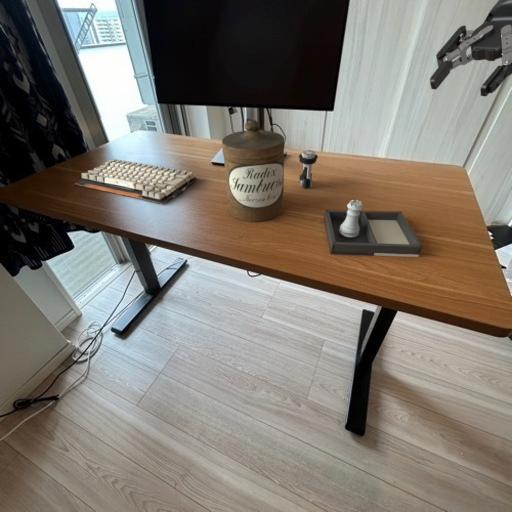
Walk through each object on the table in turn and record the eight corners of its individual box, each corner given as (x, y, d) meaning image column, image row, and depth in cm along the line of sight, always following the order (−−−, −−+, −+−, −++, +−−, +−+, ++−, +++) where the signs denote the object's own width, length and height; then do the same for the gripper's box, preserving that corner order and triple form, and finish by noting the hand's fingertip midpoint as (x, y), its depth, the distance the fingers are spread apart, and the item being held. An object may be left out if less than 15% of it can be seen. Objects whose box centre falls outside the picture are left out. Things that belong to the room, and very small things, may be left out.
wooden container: (233, 226, 67) (224, 132, 53) (225, 198, 78) (215, 115, 64) (290, 217, 69) (295, 125, 55) (274, 192, 80) (275, 110, 66)
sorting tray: (397, 220, 67) (401, 211, 65) (418, 257, 56) (423, 246, 54) (324, 219, 68) (325, 209, 67) (330, 254, 58) (332, 244, 56)
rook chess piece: (362, 232, 62) (370, 201, 57) (352, 241, 60) (360, 210, 55) (344, 225, 65) (351, 195, 60) (335, 233, 62) (341, 203, 57)
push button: (292, 181, 86) (294, 149, 79) (308, 178, 87) (311, 147, 80) (301, 190, 81) (303, 157, 74) (317, 187, 82) (321, 154, 76)
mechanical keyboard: (73, 185, 89) (69, 175, 86) (118, 164, 102) (115, 155, 100) (165, 206, 76) (162, 195, 74) (202, 180, 89) (200, 170, 87)
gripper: (483, -22, 44) (413, 68, 48) (600, -39, 35) (503, 76, 38) (484, 20, 50) (422, 98, 53) (586, 15, 40) (502, 112, 43)
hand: (456, 89), depth 45 cm, fingers open, 8 cm apart
